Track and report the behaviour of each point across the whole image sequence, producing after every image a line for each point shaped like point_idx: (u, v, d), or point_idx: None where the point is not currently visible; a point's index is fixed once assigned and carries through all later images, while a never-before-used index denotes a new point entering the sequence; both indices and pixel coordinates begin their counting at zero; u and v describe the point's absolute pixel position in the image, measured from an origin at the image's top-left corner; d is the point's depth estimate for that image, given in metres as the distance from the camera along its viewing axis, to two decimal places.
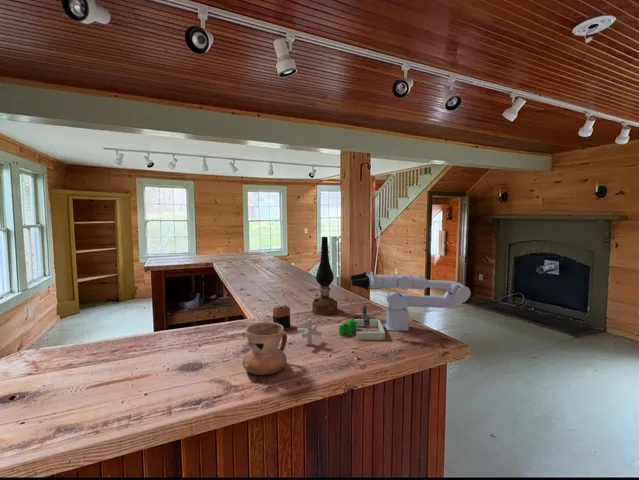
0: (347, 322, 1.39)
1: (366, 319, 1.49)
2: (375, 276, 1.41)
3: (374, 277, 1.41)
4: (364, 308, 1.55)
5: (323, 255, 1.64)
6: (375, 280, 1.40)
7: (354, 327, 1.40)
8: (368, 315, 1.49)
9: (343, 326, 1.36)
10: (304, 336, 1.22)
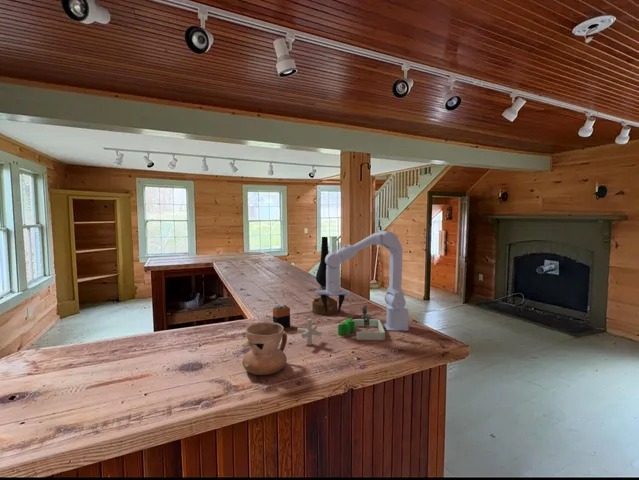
0: (346, 322, 1.39)
1: (366, 319, 1.49)
2: (336, 290, 1.35)
3: (337, 290, 1.36)
4: (364, 308, 1.55)
5: (323, 255, 1.64)
6: (338, 289, 1.37)
7: (353, 327, 1.40)
8: (368, 315, 1.49)
9: (342, 326, 1.36)
10: (304, 336, 1.22)
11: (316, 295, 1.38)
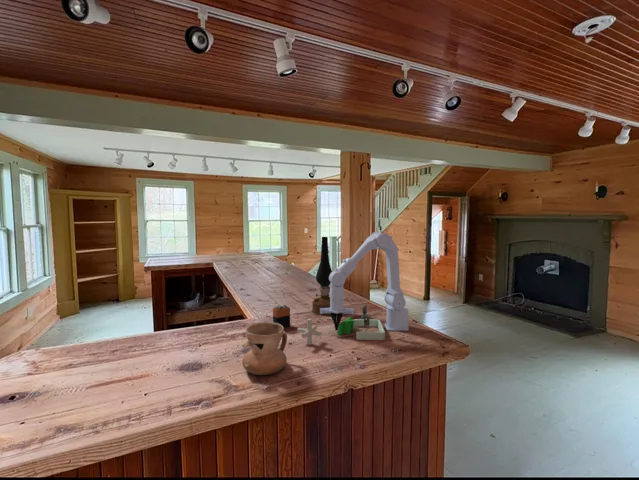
0: (345, 321, 1.40)
1: (366, 319, 1.49)
2: (340, 308, 1.36)
3: (341, 309, 1.36)
4: (364, 308, 1.55)
5: (323, 255, 1.64)
6: (342, 307, 1.37)
7: (352, 326, 1.41)
8: (368, 315, 1.49)
9: (342, 325, 1.37)
10: (304, 336, 1.22)
11: (320, 313, 1.38)
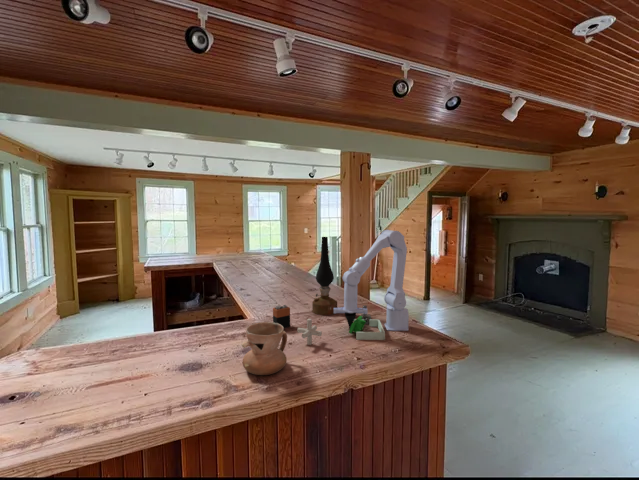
0: (358, 320, 1.39)
1: (366, 319, 1.49)
2: (354, 307, 1.36)
3: (355, 308, 1.36)
4: None
5: (323, 255, 1.64)
6: (356, 307, 1.37)
7: (362, 326, 1.41)
8: (368, 315, 1.49)
9: (354, 324, 1.36)
10: (304, 336, 1.22)
11: (334, 312, 1.38)
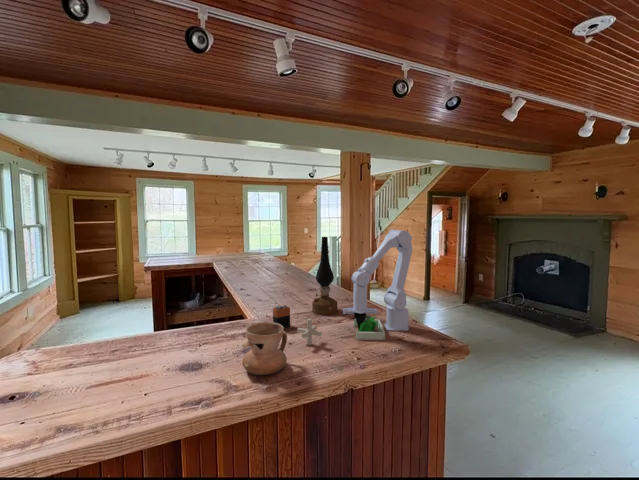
0: (368, 321, 1.38)
1: (366, 319, 1.49)
2: (363, 308, 1.36)
3: (364, 309, 1.36)
4: None
5: (323, 255, 1.64)
6: (366, 307, 1.37)
7: (373, 327, 1.39)
8: (368, 315, 1.49)
9: (364, 325, 1.35)
10: (304, 336, 1.22)
11: (343, 313, 1.38)
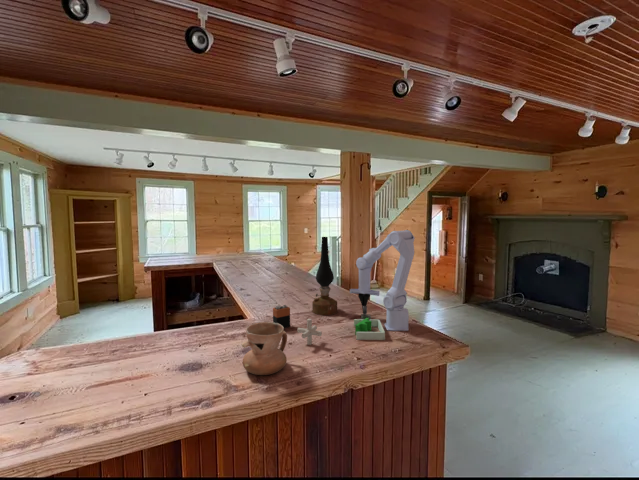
0: (362, 322, 1.39)
1: None
2: (366, 289, 1.55)
3: (367, 290, 1.55)
4: (364, 308, 1.55)
5: (323, 255, 1.64)
6: (369, 289, 1.55)
7: (369, 327, 1.40)
8: (368, 315, 1.49)
9: (359, 326, 1.36)
10: (304, 336, 1.22)
11: (350, 292, 1.59)
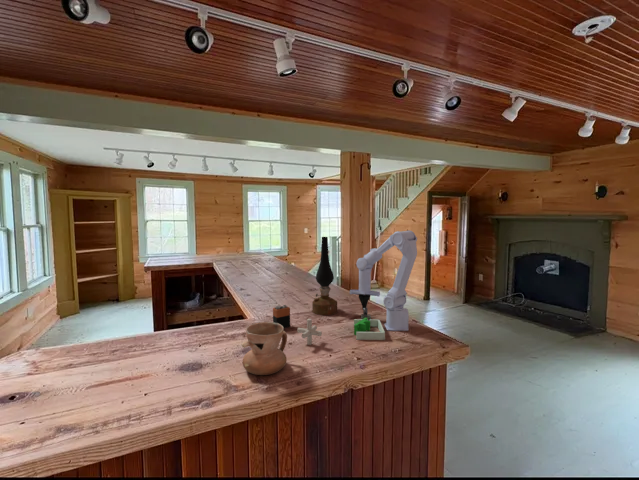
0: (361, 321, 1.40)
1: None
2: (366, 290, 1.53)
3: (367, 291, 1.53)
4: (365, 310, 1.51)
5: (323, 255, 1.64)
6: (369, 289, 1.54)
7: (368, 326, 1.41)
8: (368, 315, 1.49)
9: (357, 325, 1.37)
10: (304, 336, 1.22)
11: (350, 293, 1.57)
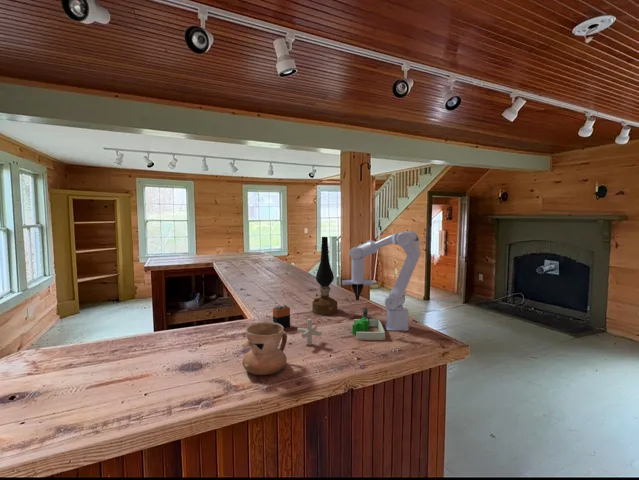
0: (360, 321, 1.40)
1: None
2: (360, 279, 1.51)
3: (361, 280, 1.51)
4: (365, 310, 1.51)
5: (323, 255, 1.64)
6: (363, 279, 1.52)
7: (367, 326, 1.41)
8: (368, 315, 1.49)
9: (356, 325, 1.37)
10: (304, 336, 1.22)
11: (342, 284, 1.53)
